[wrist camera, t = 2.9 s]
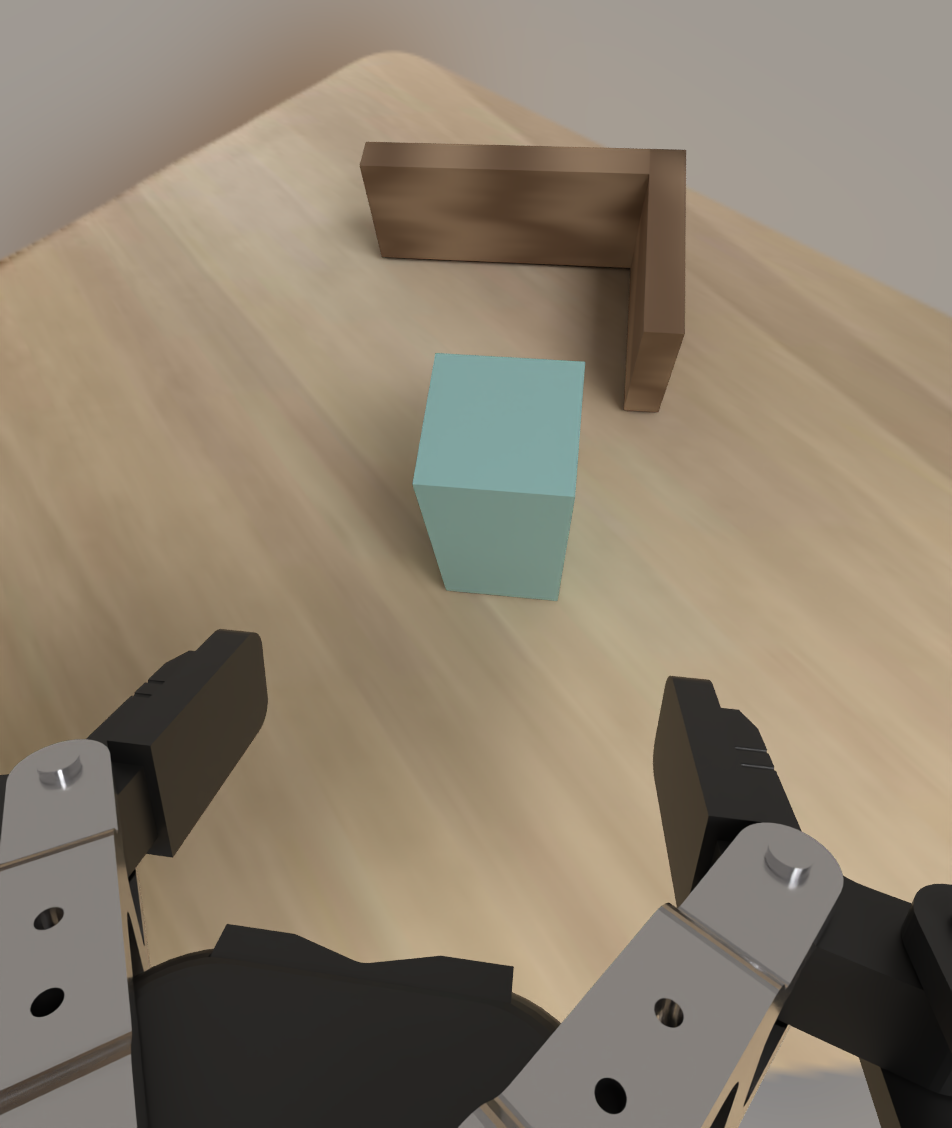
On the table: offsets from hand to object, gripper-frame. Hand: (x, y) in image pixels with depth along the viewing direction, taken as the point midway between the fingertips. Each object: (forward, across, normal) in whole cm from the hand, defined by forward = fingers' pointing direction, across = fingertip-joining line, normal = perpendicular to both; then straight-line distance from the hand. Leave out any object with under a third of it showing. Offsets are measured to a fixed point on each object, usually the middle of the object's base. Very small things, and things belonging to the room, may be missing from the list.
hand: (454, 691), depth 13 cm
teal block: (+14, 0, +3) cm, 15 cm away
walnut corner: (+23, +1, -6) cm, 24 cm away
